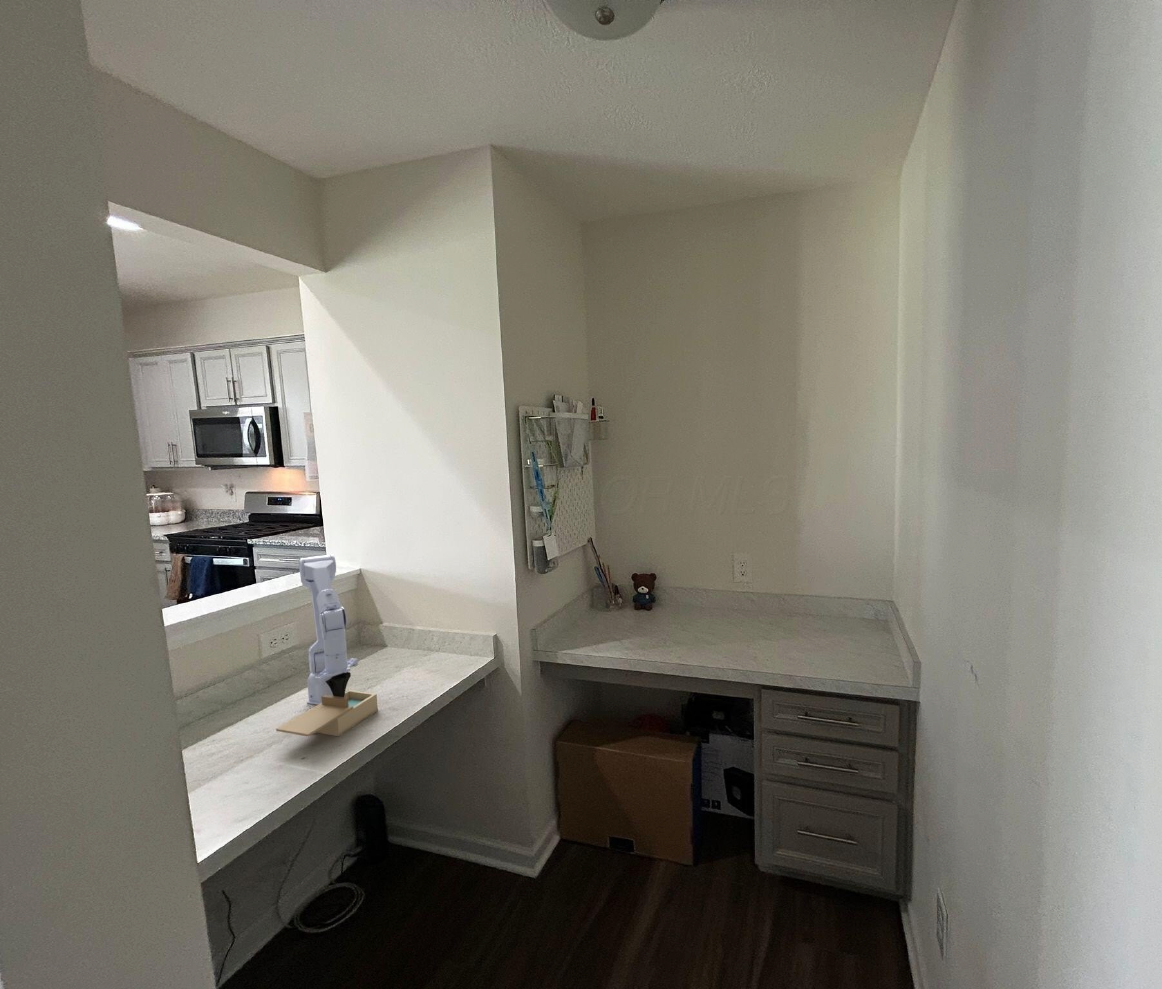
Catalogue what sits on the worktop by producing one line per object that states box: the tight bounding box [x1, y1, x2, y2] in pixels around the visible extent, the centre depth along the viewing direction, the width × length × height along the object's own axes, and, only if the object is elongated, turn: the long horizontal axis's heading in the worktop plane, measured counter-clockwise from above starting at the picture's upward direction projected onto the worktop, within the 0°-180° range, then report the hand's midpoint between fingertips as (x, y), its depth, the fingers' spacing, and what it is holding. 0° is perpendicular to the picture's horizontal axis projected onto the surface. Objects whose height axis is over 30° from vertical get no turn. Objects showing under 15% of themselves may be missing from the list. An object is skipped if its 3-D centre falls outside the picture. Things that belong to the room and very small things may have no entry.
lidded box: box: [315, 689, 379, 737], centre depth 176 cm, size 16×10×5 cm, turn 160°
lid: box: [275, 695, 353, 737], centre depth 166 cm, size 16×10×3 cm, turn 160°
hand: (339, 699), depth 174 cm, fingers closed
